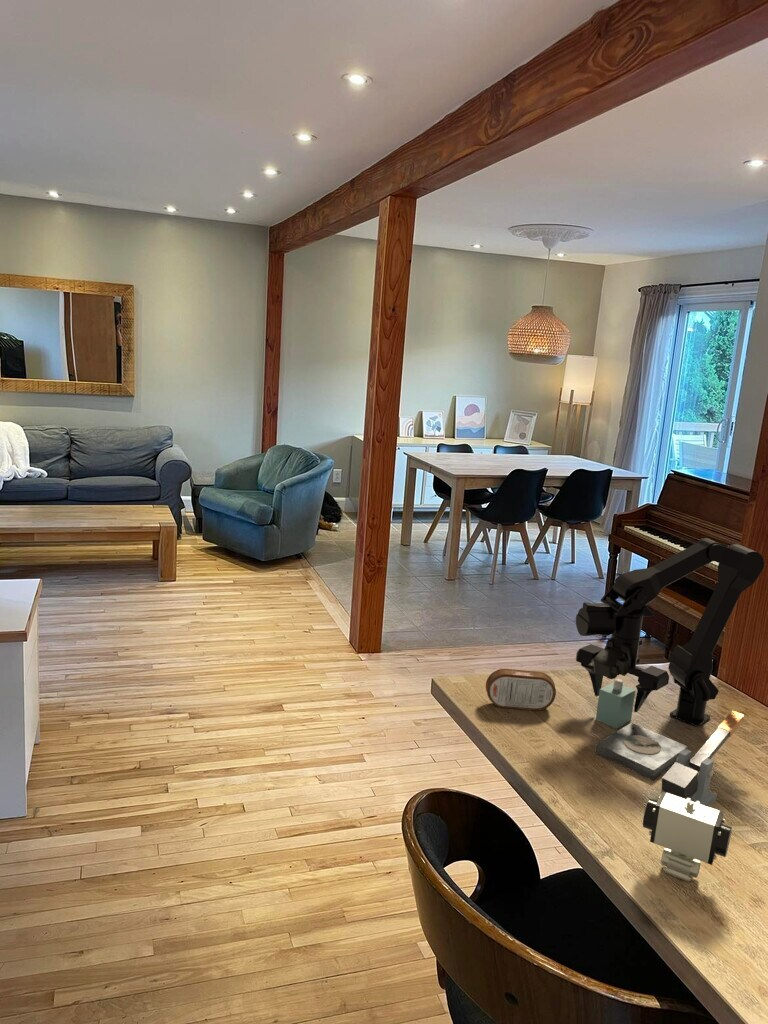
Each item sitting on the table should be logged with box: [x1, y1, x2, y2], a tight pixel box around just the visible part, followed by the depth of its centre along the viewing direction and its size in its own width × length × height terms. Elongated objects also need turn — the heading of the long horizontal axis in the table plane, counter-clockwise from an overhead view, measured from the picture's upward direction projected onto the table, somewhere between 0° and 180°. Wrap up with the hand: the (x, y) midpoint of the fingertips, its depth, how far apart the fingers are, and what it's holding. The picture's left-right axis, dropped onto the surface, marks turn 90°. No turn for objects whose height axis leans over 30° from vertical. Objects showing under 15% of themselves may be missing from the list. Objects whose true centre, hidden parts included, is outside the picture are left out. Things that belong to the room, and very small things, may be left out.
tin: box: [485, 668, 557, 711], centre depth 166 cm, size 15×3×8 cm, turn 87°
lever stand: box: [676, 748, 718, 807], centre depth 136 cm, size 6×7×8 cm
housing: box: [595, 678, 636, 729], centre depth 163 cm, size 6×5×9 cm
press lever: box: [661, 710, 745, 799], centre depth 138 cm, size 26×4×4 cm, turn 134°
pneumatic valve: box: [642, 790, 733, 883], centre depth 115 cm, size 6×12×12 cm, turn 58°
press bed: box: [594, 722, 689, 781], centre depth 150 cm, size 14×12×2 cm
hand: (616, 703), depth 163 cm, fingers open, 9 cm apart
